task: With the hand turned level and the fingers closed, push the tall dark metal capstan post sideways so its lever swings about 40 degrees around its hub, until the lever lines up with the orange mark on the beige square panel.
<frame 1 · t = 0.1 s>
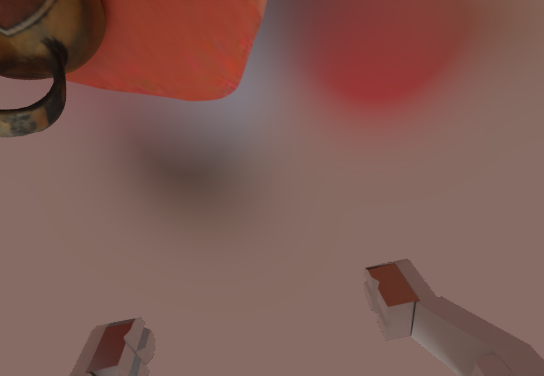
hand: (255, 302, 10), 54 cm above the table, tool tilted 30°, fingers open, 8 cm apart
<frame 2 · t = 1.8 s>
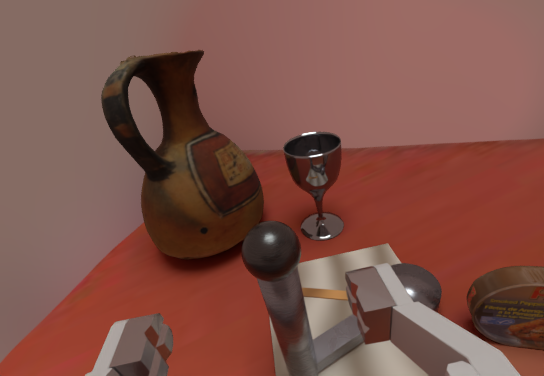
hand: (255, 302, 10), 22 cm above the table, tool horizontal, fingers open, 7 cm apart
silver goblet: (321, 226, 46), on the table
beige square panel: (407, 304, 32), on the table
ceramic pitcher: (216, 231, 50), on the table
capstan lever: (361, 270, 24), point 10 cm above the table, hinge at 20.0°
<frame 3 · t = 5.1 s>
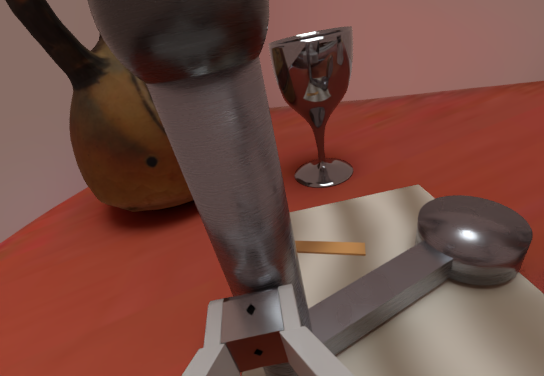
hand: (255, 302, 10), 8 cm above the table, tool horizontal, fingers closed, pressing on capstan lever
silver goblet: (323, 173, 34), on the table
beige square panel: (461, 259, 20), on the table
ceramic pitcher: (185, 185, 38), on the table
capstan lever: (401, 165, 12), point 10 cm above the table, hinge at 20.0°, touching gripper
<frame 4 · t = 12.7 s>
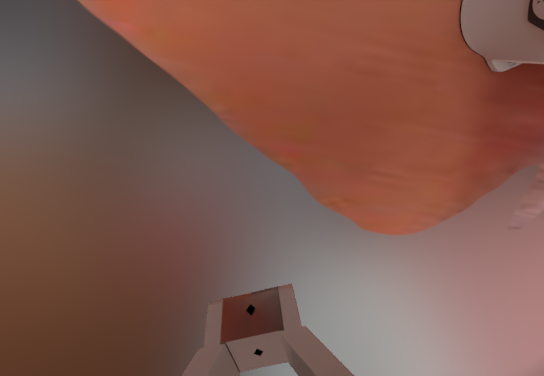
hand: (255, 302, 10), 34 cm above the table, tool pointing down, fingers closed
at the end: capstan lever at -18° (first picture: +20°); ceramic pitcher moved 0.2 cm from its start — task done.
